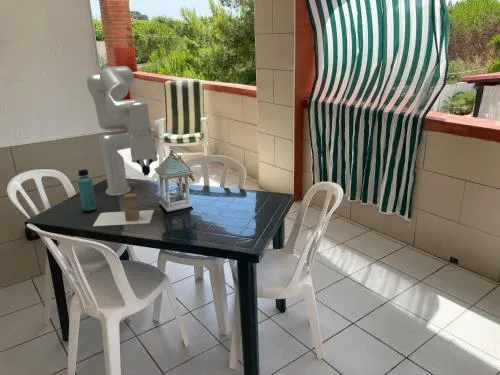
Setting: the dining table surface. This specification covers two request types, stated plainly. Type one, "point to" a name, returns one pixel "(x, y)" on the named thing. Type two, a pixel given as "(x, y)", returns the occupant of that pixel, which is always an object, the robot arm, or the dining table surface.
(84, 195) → the beverage bottle
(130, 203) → the walnut block
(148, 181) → the dining table surface
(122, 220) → the white rectangular board
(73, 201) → the dining table surface
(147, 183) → the dining table surface
